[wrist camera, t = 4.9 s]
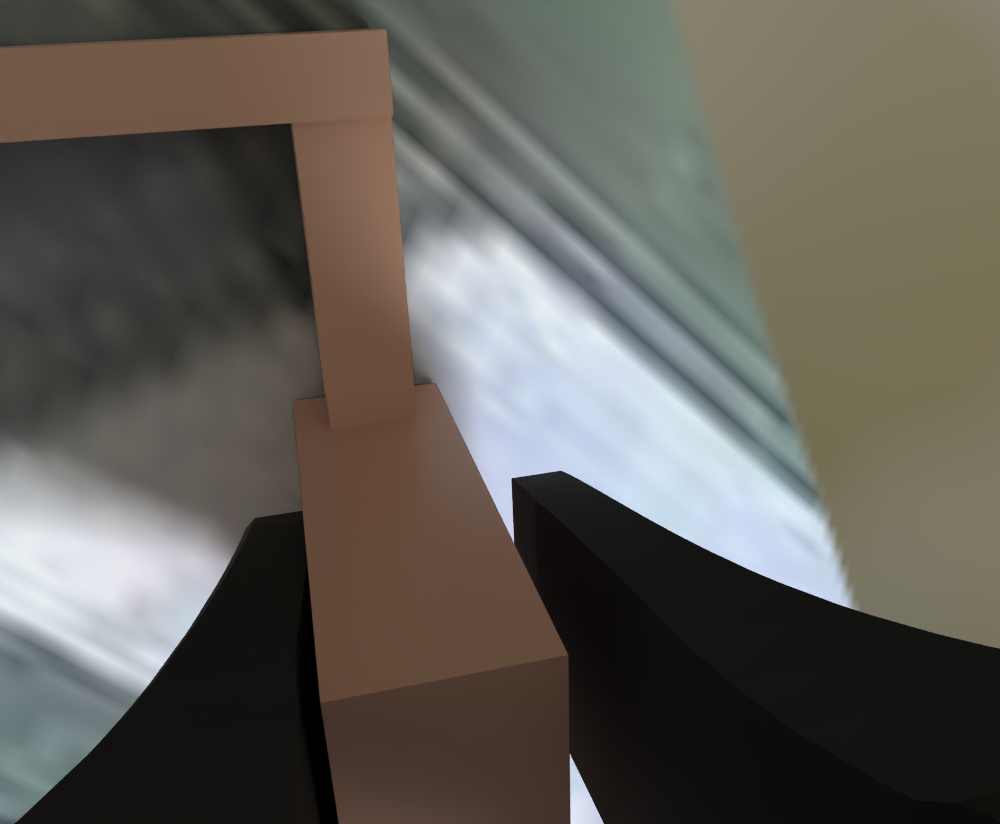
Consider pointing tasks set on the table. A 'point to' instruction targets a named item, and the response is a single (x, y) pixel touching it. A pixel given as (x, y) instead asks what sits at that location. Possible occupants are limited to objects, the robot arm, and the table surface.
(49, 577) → the table surface
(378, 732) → the cup sled
